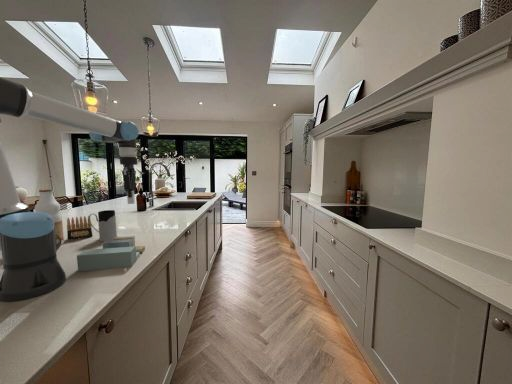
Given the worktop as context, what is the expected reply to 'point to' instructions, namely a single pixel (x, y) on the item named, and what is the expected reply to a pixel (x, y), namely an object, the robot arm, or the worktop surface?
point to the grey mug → (106, 225)
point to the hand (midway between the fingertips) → (131, 203)
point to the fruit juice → (51, 210)
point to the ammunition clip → (78, 229)
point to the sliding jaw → (138, 248)
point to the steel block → (117, 243)
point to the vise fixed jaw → (107, 258)
